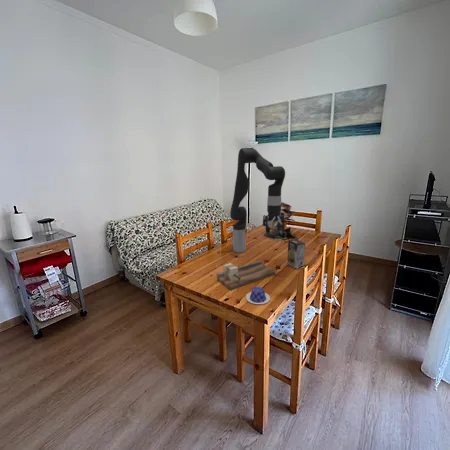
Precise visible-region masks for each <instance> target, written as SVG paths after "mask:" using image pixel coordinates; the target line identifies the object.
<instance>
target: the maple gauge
mask: <svg viewBox="0 0 450 450" xmlns="http://www.w3.org/2000/svg"><path fill="white" fill-rule="evenodd" d="M223 268H224V269H223V270H224V271H223V272H224V276H225V277H226V278H228V279H229V280H230V281H233V280H236V279H238V281H239V280H240V279H241V278H240V277H239V276H238V266H236V265H234V264H233V263H231V262H229V263H227V264H224V265H223Z"/></svg>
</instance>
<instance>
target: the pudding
mask: <svg viewBox="0 0 450 450" xmlns="http://www.w3.org/2000/svg"><path fill="white" fill-rule="evenodd" d="M245 298H246V301H248V302H249V303H251V304H253V305H264V304H267V303H269V302H270V300H271V296H270V295H269V294H268V293H267V292H265V290H264V288H263V287H261V286H254V287H252V289H251V291H250V292H248V293H247V294H246V295H245Z"/></svg>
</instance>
